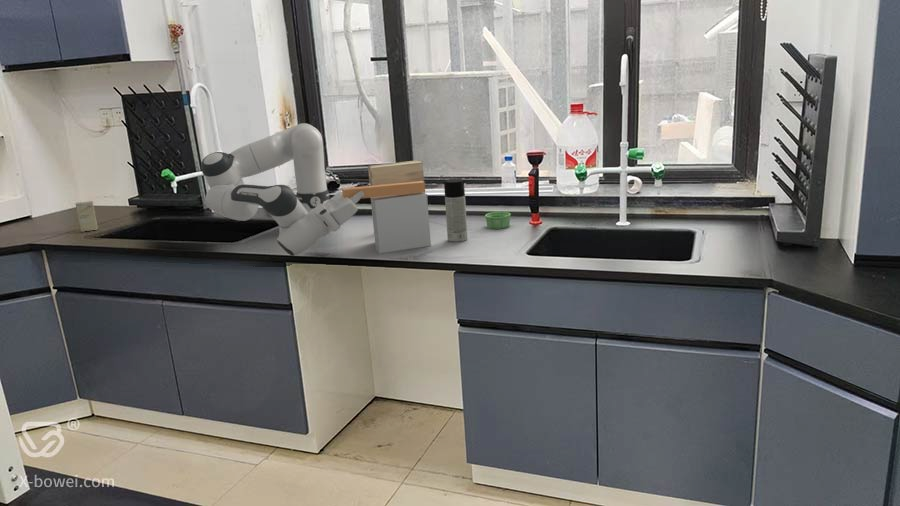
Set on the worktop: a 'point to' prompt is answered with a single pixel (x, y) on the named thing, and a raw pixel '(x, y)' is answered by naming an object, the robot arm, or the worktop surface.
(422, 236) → the base
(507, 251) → the worktop surface
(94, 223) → the skincare box
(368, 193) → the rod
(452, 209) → the spray can
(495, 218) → the ramekin
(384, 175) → the beige rectangular block
